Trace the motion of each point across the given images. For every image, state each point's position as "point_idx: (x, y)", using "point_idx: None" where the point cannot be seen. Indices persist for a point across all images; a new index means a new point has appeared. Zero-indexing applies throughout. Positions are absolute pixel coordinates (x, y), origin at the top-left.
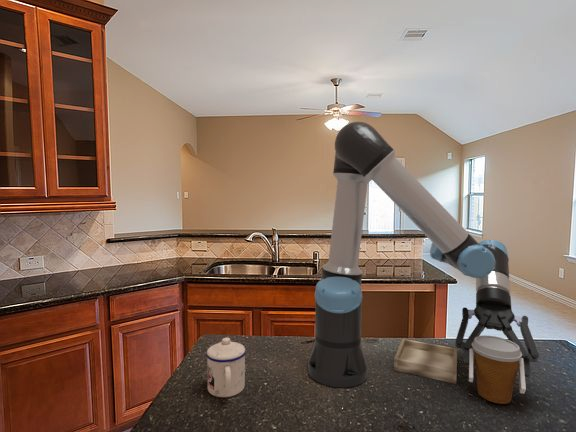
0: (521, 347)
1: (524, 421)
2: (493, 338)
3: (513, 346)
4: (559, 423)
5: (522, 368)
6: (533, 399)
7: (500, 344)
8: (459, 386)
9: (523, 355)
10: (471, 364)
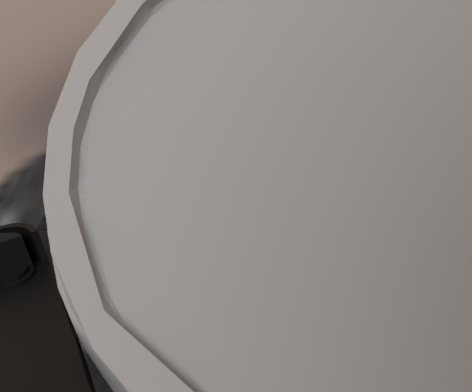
0: (15, 354)
1: None
2: None
3: (121, 233)
4: (20, 193)
5: None
6: (92, 371)
7: (290, 199)
8: None
9: (39, 273)
10: None
